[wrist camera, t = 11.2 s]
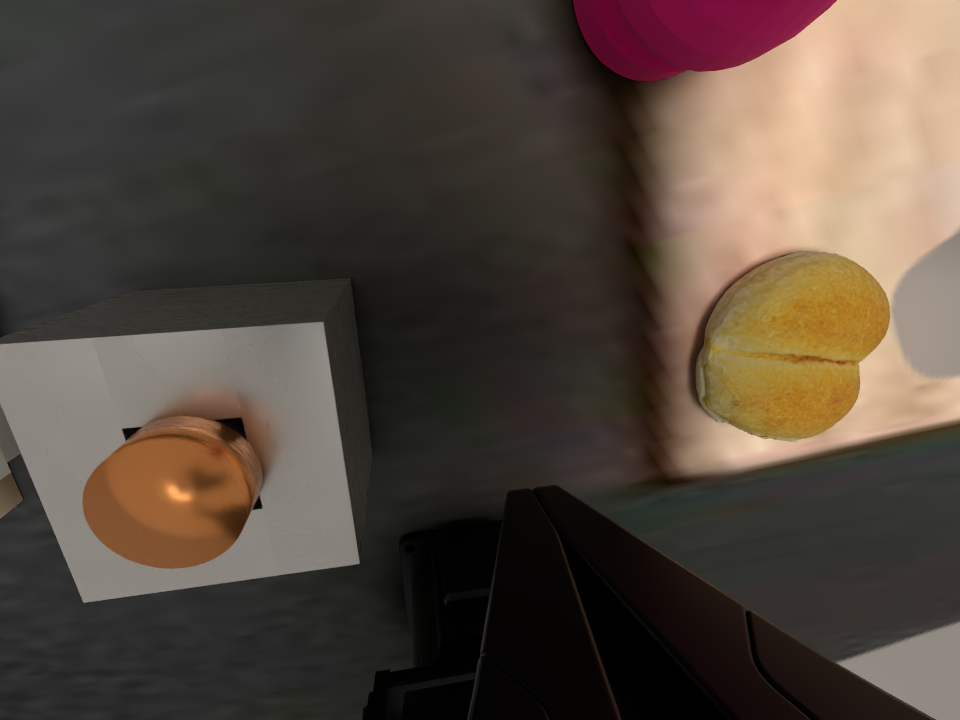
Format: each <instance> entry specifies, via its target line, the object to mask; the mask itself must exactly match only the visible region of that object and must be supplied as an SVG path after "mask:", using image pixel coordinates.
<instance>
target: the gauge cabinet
mask: <svg viewBox="0 0 960 720" xmlns="http://www.w3.org/2000/svg"><path fill="white" fill-rule="evenodd" d="M0 404H1V407H2V409H3V411H4V414H5V416H6V419H7V421H8V423H9V426H10V428H11V430H12V433H13V435H14V438H15V440H16V442H17V445H18V447H19V450H20V452H21V454H22V457H23V459H24V461H25V464H26V466H27V469H28V471H29V473H30V476H31V478H32V481H33V483H34V485H35V488H36V490H37V492H38V495H39V497H40V500H41V502H42V504H43V507H44V509H45V511H46V514H47V516H48V519H49V521H50V523H51V526H52V528H53V531H54V533H55V535H56V538H57V540H58V542H59V545H60V547H61V550H62V552H63V554H64V557H65V559H66V561H67V564H68V566H69V569H70V571H71V573H72V576H73V578H74V581H75V583H76V585H77V588H78V590H79V592H80V595H81V597H82V600H83V602H84V603H85V602H92V601H99V600H106V599H113V598H120V597H127V596H134V595H142V594H149V593H156V592H163V591H170V590H177V589H184V588H191V587H198V586H206V585H213V584H220V583H227V582H234V581H241V580H248V579H255V578H262V577H269V576H277V575H284V574H291V573H298V572H305V571H312V570H319V569H326V568H333V567H341V566H348V565H355V564H360V557H361V549H362V540H363V531H364V522H365V513H366V505H367V496H368V487H369V478H370V470H371V461H372V444H371V436H370V428H369V420H368V412H367V404H366V396H365V388H364V380H363V372H362V365H361V357H360V349H359V341H358V333H357V325H356V317H355V309H354V301H353V293H352V286H351V278H343V279H326V280H308V281H291V282H273V283H256V284H239V285H221V286H204V287H186V288H169V289H152V290H134V291H131V292H128V293H126V294H123V295H120V296H117V297H114V298H111V299H108V300H106V301H103V302H100V303H97V304H94V305H91V306H88V307H86V308H83V309H80V310H77V311H74V312H71V313H69V314H66V315H63V316H60V317H57V318H54V319H51V320H49V321H46V322H43V323H40V324H37V325H34V326H32V327H29V328H26V329H23V330H20V331H17V332H14V333H12V334H9V335H6V336H3V337H0ZM175 416H193V417H200V418H206V419H209V420H217V419H228V418H239V417H242V420H243V424H244V429H245V433H246V437H247V442H248V443H249V444H250V445H251V447H252V448H253V450H254V451H255V453H256V454H257V456H258V458H259V461H260V464H261V467H262V474H263V482H262V488H261V491H260V494H259V497H258V499H257V501H256V503H255V505H254V507H253V509H252V511H251V513H250V515H249V518H248V520H247V522H246V524H245V526H244V528H243V530H242V532H241V534H240V536H239V537H238V539H237V540H236V542H235V543H234V544H233V545H232V546H231V547H230V548H229V549H228V550H227V551H226V552H224V553H223V554H221V555H220V556H218V557H216V558H215V559H213V560H211V561H208V562H206V563H203V564H200V565H197V566H192V567H187V568H177V569H165V568H155V567H150V566H145V565H142V564H138V563H135V562H133V561H130V560H128V559H125V558H123V557H122V556H120V555H118V554H116V553H115V552H113V551H112V550H110V549H109V548H108V547H106V546H105V545H104V544H103V543H102V542H101V541H100V540H99V539H98V538H97V537H96V536H95V535H94V533H93V532H92V530H91V529H90V527H89V525H88V523H87V521H86V518H85V515H84V512H83V504H82V500H83V492H84V488H85V485H86V483H87V480H88V478H89V477H90V475H91V474H92V472H93V471H94V470H95V469H96V468H97V467H98V466H99V465H100V464H101V463H102V462H103V461H104V460H105V459H106V458H107V457H109V456H110V455H111V454H112V453H113V452H114V451H115V450H116V449H118V448H119V447H120V446H121V445H122V444H123V443H124V442H125V441H127V440H128V439H129V438H130V437H131V436H132V435H133V434H134V433H136V432H137V431H138V430H140V429H141V428H142V427H144V426H146V425H148V424H150V423H152V422H155V421H157V420H160V419H164V418H169V417H175Z"/></svg>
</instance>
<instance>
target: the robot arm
mask: <svg viewBox="0 0 960 720" xmlns="http://www.w3.org/2000/svg"><path fill="white" fill-rule="evenodd" d="M409 544H411V545H413V546H412V547H406V545H409ZM399 552H400V561H401V570H402V578H403V587H404V596H405V605H406V614H407V622H408V631H409V635H410V637H412V638H413V644H414V668H410V669H404V670H399V671H393V672H390V669H389V670H383V671H377V672H376V674H375V682H374V689H373V692H370V693H369V698H368V705H367V706H366V707H365V708H364V709H363V720H936V719H934V718H932V717H930V716H928V715H927V714H925V713H923V712H921V711H919V710H918V709H916V708H914V707H912V706H911V705H909V704H907V703H905V702H903V701H902V700H900V699H898V698H896V697H894V696H893V695H891V694H889V693H887V692H885V691H884V690H882V689H880V688H879V687H877V686H875V685H873V684H872V683H870V682H868V681H866V680H865V679H863V678H861V677H859V676H858V675H856V674H854V673H852V672H851V671H849V670H847V669H846V668H844V667H842V666H840V665H839V664H837V663H835V662H833V661H832V660H830V659H828V658H827V657H825V656H823V655H822V654H820V653H818V652H817V651H815V650H814V649H812V648H810V647H809V646H807V645H806V644H804V643H802V642H801V641H799V640H797V639H796V638H794V637H793V636H791V635H789V634H788V633H786V632H785V631H783V630H781V629H780V628H778V627H777V626H775V625H773V624H772V623H770V622H769V621H767V620H766V619H764V618H763V617H761V616H759V615H758V614H756V613H755V612H753V611H752V610H747V611H746V609H745V607H744V606H743V605H742V604H740V603H739V602H737V601H736V600H734V599H733V598H731V597H730V596H728V595H726V594H725V593H723V592H722V591H720V590H719V589H717V588H716V587H714V586H713V585H711V584H709V583H708V582H706V581H705V580H703V579H702V578H700V577H699V576H697V575H695V574H694V573H692V572H691V571H689V570H688V569H686V568H685V567H683V566H681V565H680V564H678V563H677V562H675V561H674V560H672V559H671V558H669V557H667V556H666V555H664V554H663V553H661V552H660V551H658V550H657V549H655V548H653V547H652V546H650V545H649V544H647V543H646V542H644V541H643V540H641V539H639V538H638V537H636V536H635V535H633V534H632V533H630V532H629V531H627V530H625V529H624V528H622V527H621V526H619V525H618V524H616V523H615V522H613V521H612V520H610V519H608V518H607V517H605V516H604V515H602V514H601V513H599V512H598V511H596V510H594V509H593V508H591V507H590V506H588V505H587V504H585V503H584V502H582V501H580V500H579V499H577V498H576V497H574V496H573V495H571V494H570V493H568V492H566V491H565V490H563V489H562V488H560V487H558V486H556V485H551V486H543V487H536V488H534V489H533V490H531V489H528V488H527V489H519V490H511V491H509V492H508V493H507V496H506V502H505V507H504V513H503V519H502V522H500V523H493V524H485V525H478V526H471V527H463V528H456V529H448V530H441V531H433V532H426V533H418V534H411V535H406V536H404V537H403V538H401V540H400V543H399Z"/></svg>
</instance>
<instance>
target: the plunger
mask: <svg viewBox="0 0 960 720" xmlns="http://www.w3.org/2000/svg"><path fill="white" fill-rule="evenodd" d="M262 482H263V474H262V467H261V464H260V461H259V458H258V456H257V454H256V453H255V451H254V450H253V448H252V447H251V445H250V444H249V443H248V442H247V437H246V433H245V429H244V424H243V420H242V417H239V418H228V419H217V420H209V419H206V418H200V417H193V416H175V417H169V418H164V419H160V420H157V421H155V422H152V423H150V424H148V425H146V426H144V427H142V428H141V429H140V430H138V431H137V432H136V433H134V434H133V435H132V436H131V437H130V438H129V439H128V440H127V441H125V442H124V443H123V444H122V445H121V446H120V447H119V448H118V449H116V450H115V451H114V452H113V453H112V454H111V455H110V456H109V457H107V458H106V459H105V460H104V461H103V462H102V463H101V464H100V465H99V466H98V467H97V468H96V469H95V470H94V471H93V472H92V474H91V475H90V477H89V478H88V480H87V483H86V485H85V488H84V492H83V500H82V504H83V512H84V515H85V518H86V521H87V523H88V525H89V527H90V529H91V530H92V532H93V533H94V535H95V536H96V537H97V538H98V539H99V540H100V541H101V542H102V543H103V544H104V545H105V546H106V547H108V548H109V549H110V550H112V551H113V552H115V553H116V554H118V555H120V556H122V557H123V558H125V559H128V560H130V561H133V562H135V563H138V564H142V565H145V566H150V567H155V568H165V569H177V568H187V567H192V566H197V565H200V564H203V563H206V562H208V561H211V560H213V559H215V558H216V557H218V556H220V555H221V554H223V553H224V552H226V551H227V550H228V549H229V548H230V547H231V546H232V545H233V544H234V543H235V542H236V540H237V539H238V537H239V536H240V534H241V532H242V530H243V528H244V526H245V524H246V522H247V520H248V518H249V515H250V513H251V511H252V509H253V507H254V505H255V503H256V501H257V499H258V497H259V494H260V491H261V488H262Z"/></svg>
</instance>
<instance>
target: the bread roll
mask: <svg viewBox="0 0 960 720" xmlns="http://www.w3.org/2000/svg"><path fill="white" fill-rule="evenodd" d="M889 321H890V311H889V302H888V299H887V296H886V294H885V292H884V290H883V289H882V287H881V286H880V284H879V283H878V282H877V281H876V279H875V278H874V277H873V276H872V275H871V274H870V273H869V272H867V271H866V270H865V269H864V268H863V267H861V266H860V265H858V264H857V263H855V262H854V261H852V260H850V259H848V258H846V257H843V256H840V255H837V254H832V253H825V252H813V251H806V252H797V253H793V254H789V255H786V256H783V257H780V258H777V259H774V260H772V261H769V262H767V263H765V264H762V265H760V266H759V267H757V268H756V269H754V270H752V271H751V272H749V273H748V274H746V275H745V276H743V277H742V278H741V279H739V280H738V281H737V282H736V283H734V284H733V285H732V286H731V287H730V288H729V289H728V290H727V291H726V292H725V294H724V295H723V297H722V298H721V299H720V300H719V302H718V303H717V305H716V307H715V308H714V310H713V312H712V314H711V316H710V318H709V321H708V323H707V326H706V329H705V342H704V346H703V348H702V350H701V351H700V353H699V356H698V359H697V363H696V389H697V393H698V399H699V401H700V404H701V405H702V407H703V409H705V411H706V412H707V413H708V414H709V415H710V416H712V417H713V418H714V419H715V420H716V421H717V422H727V423H729V424H731V425H733V426H735V427H737V428H738V429H740V430H743V431H745V432H747V433H749V434H751V435H756V436H758V437H761V438H763V439H768V438H773V439H775V440H782V441H790V442H795V441H797V440H799V439H804V438H808V437H812V436H815V435H817V434H820V433H822V432H824V431H826V430H827V429H829V428H831V427H832V426H833V425H835V424H836V423H837V422H838V421H840V420H841V419H842V418H843V417H844V416H845V415H846V414H847V413H848V412H849V411H850V410H851V408H852V407H853V405H854V404H855V402H856V400H857V398H858V394H859V389H860V376H859V365H858V362H860V361H862V360H863V359H864V358H865V357H866V356H868V355H869V354H870V353H871V352H872V351H873V350H874V349H875V348H876V347H877V346H878V345H879V343H880V342H881V341H882V339H883V338H884V336H885V335H886V332H887V330H888V326H889Z"/></svg>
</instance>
